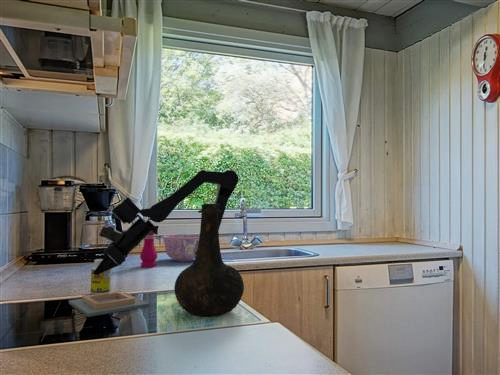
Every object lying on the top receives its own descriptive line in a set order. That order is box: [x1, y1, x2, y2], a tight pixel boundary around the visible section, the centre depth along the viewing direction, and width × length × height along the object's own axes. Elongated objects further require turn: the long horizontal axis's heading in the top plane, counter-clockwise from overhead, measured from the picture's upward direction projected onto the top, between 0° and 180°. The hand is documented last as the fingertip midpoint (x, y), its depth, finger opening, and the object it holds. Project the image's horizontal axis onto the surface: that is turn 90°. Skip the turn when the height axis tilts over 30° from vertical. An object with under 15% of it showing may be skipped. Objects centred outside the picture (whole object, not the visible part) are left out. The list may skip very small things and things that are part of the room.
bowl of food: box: [162, 233, 200, 263], centre depth 190 cm, size 20×20×12 cm
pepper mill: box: [139, 219, 158, 269], centre depth 171 cm, size 7×7×20 cm
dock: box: [68, 291, 150, 318], centre depth 108 cm, size 16×16×2 cm
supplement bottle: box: [90, 258, 112, 295], centre depth 121 cm, size 6×6×10 cm
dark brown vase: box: [173, 202, 245, 318], centre depth 102 cm, size 18×18×28 cm
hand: (96, 271), depth 121 cm, fingers open, 8 cm apart
